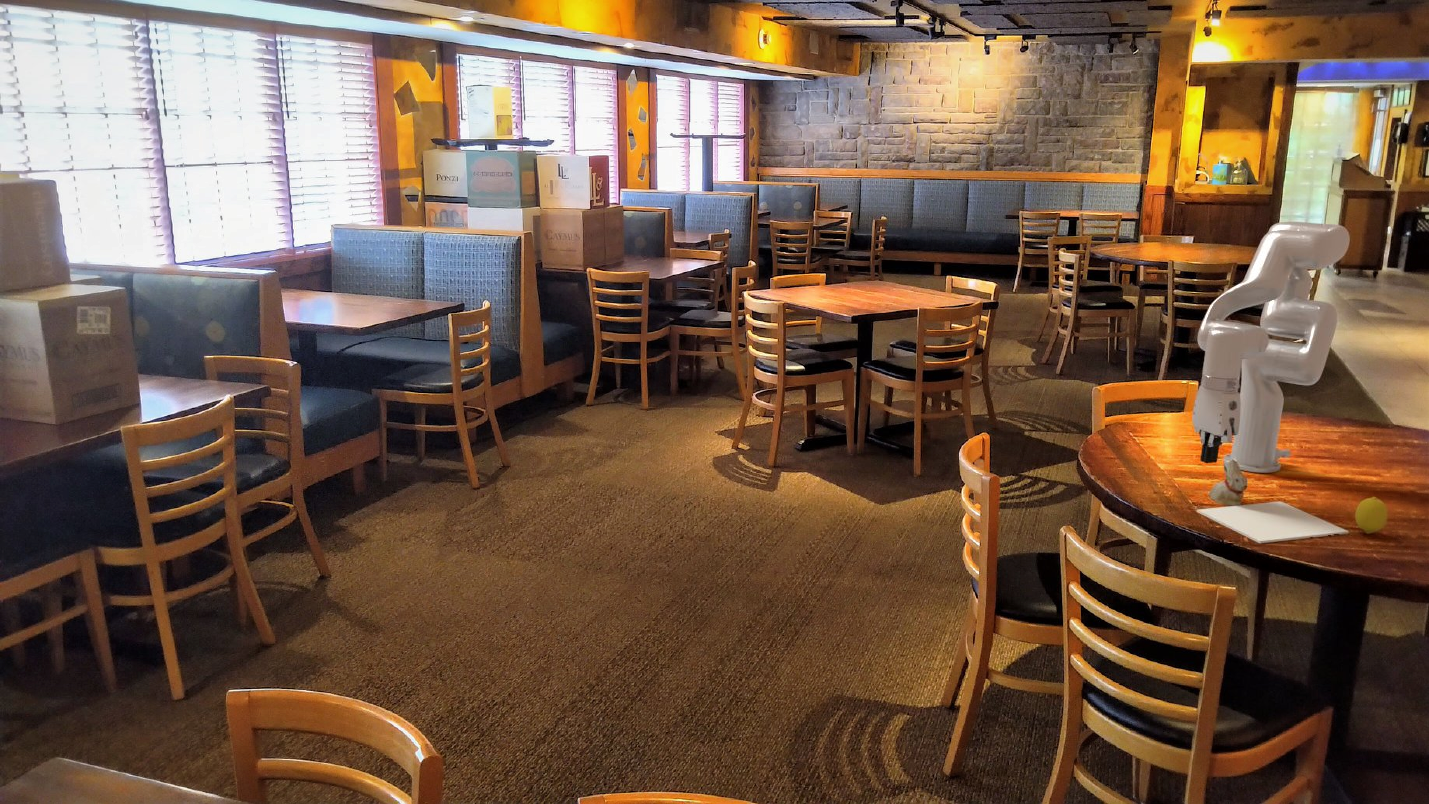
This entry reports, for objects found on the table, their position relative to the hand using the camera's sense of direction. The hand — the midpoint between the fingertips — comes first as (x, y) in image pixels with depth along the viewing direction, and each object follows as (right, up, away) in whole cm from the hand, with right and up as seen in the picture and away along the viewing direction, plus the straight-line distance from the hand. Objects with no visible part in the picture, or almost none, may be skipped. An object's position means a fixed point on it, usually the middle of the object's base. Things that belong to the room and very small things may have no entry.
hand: (1208, 461), depth 234 cm
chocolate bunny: (+2, -9, -4) cm, 10 cm away
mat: (+5, -12, -16) cm, 21 cm away
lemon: (+22, -14, -22) cm, 34 cm away
